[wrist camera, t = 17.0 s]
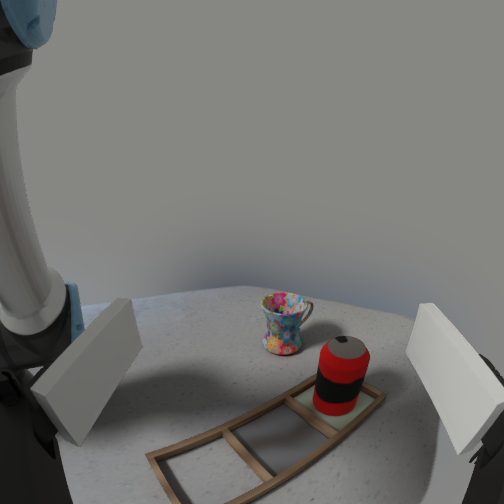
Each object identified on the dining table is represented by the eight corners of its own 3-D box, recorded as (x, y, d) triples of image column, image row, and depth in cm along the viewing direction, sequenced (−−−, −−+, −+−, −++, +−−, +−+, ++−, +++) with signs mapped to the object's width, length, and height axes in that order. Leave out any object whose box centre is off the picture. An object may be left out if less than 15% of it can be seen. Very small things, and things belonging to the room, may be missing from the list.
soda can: (345, 382, 44) (358, 329, 41) (362, 410, 37) (381, 356, 33) (306, 391, 43) (314, 336, 39) (320, 422, 36) (332, 368, 32)
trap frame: (147, 458, 29) (144, 454, 28) (331, 368, 49) (332, 362, 48) (189, 528, 19) (187, 526, 18) (384, 400, 39) (386, 394, 38)
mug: (274, 364, 51) (276, 319, 48) (253, 340, 59) (252, 298, 56) (322, 345, 56) (328, 303, 53) (298, 326, 64) (301, 286, 61)
